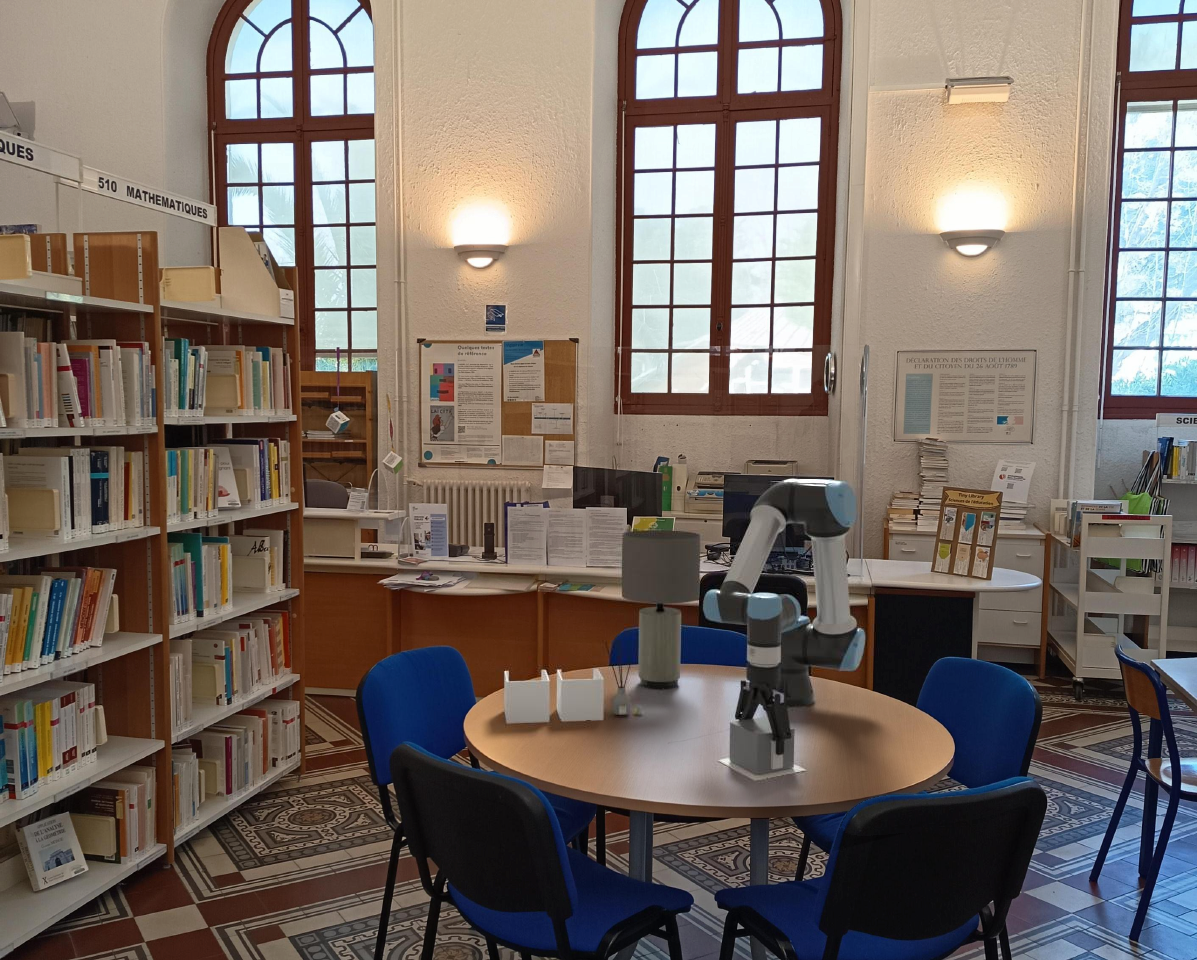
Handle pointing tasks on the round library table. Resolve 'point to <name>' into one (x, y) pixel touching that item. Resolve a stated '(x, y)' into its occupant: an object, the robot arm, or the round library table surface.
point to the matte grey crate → (757, 745)
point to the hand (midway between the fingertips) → (761, 760)
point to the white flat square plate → (760, 776)
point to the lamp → (660, 596)
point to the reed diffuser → (622, 691)
